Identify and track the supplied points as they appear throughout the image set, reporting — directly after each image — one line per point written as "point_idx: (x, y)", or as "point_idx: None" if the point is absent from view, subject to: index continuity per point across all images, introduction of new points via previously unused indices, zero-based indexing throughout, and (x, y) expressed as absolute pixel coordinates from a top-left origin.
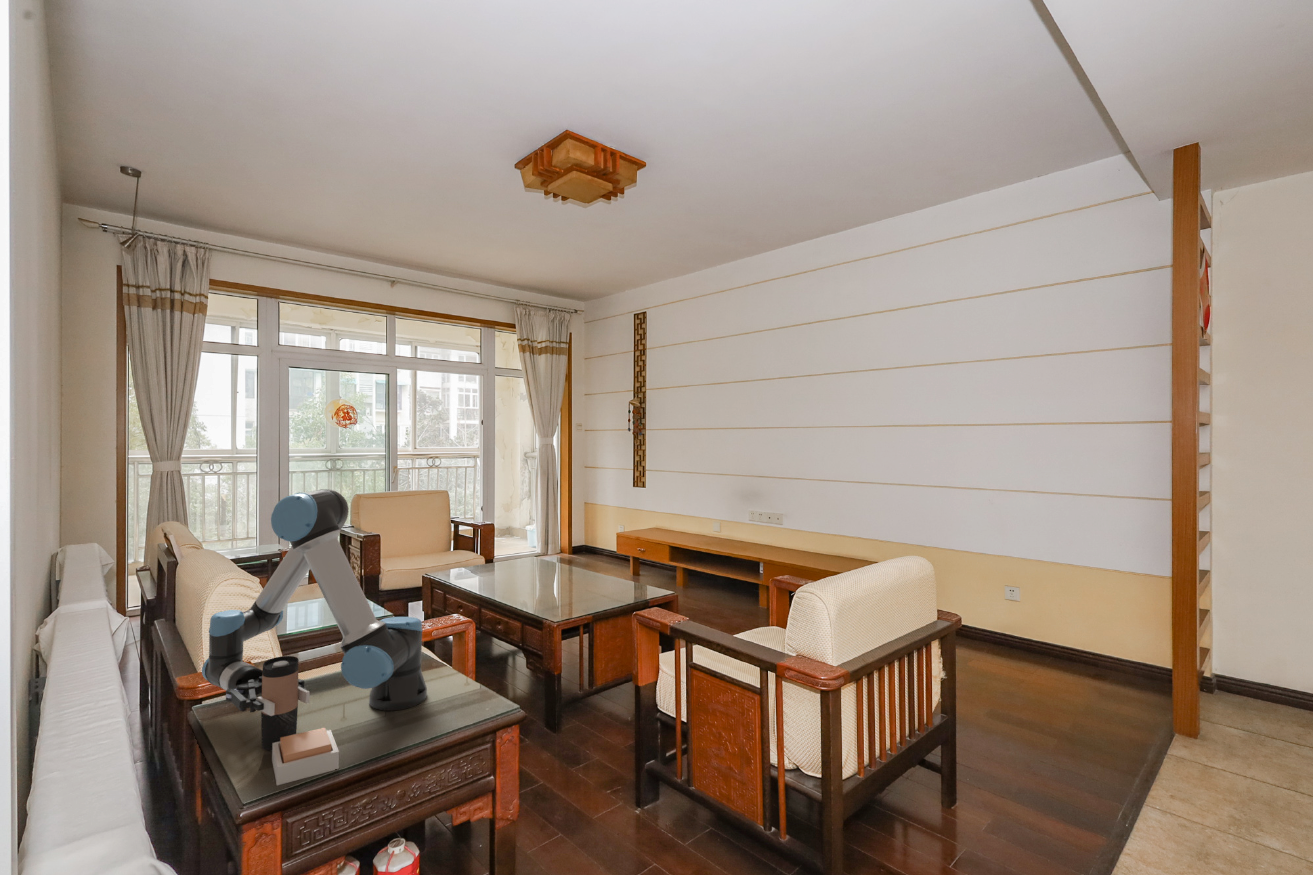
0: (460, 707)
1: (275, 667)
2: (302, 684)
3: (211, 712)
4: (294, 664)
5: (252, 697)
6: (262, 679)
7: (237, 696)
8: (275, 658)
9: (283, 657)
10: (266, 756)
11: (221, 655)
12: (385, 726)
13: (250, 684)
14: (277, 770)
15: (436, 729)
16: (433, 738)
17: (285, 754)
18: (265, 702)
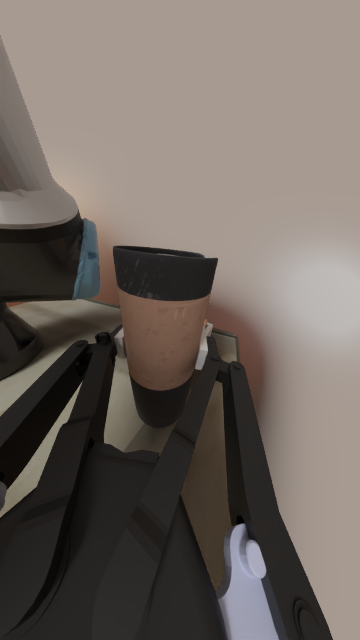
0: (47, 310)
1: (199, 254)
2: (89, 344)
3: None
4: (159, 252)
5: (216, 358)
6: (207, 306)
7: (250, 408)
8: (146, 257)
9: (122, 254)
10: (192, 381)
11: None
12: (92, 332)
13: (169, 486)
14: (212, 327)
15: (97, 308)
16: (113, 306)
17: (206, 320)
18: (204, 329)
